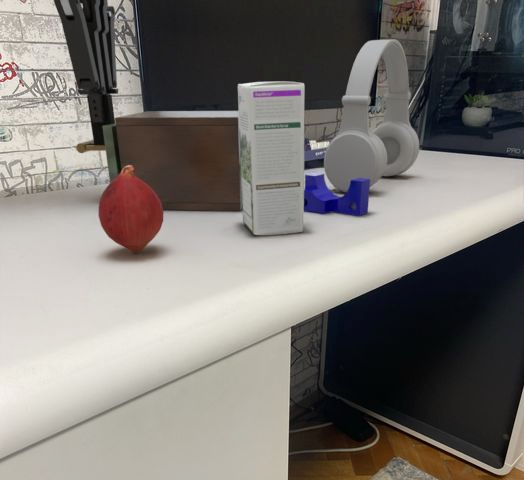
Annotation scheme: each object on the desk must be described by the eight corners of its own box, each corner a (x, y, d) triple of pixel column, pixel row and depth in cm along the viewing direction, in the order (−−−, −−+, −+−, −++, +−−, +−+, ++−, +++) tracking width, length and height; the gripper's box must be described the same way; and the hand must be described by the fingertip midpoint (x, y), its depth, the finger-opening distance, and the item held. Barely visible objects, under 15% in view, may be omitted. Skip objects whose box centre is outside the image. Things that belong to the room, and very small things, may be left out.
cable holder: (297, 209, 67) (298, 176, 65) (313, 204, 70) (314, 172, 68) (353, 218, 63) (355, 183, 61) (367, 212, 65) (370, 178, 63)
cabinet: (126, 209, 68) (114, 117, 63) (154, 190, 80) (147, 111, 75) (240, 211, 67) (237, 117, 62) (253, 191, 78) (251, 110, 73)
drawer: (76, 200, 69) (64, 125, 65) (109, 184, 79) (100, 119, 75) (216, 202, 67) (212, 125, 63) (231, 185, 77) (228, 118, 73)
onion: (110, 264, 48) (96, 172, 44) (100, 248, 53) (87, 163, 49) (173, 256, 50) (165, 167, 46) (158, 241, 55) (150, 159, 51)
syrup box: (305, 232, 57) (309, 81, 50) (251, 236, 56) (248, 82, 49) (289, 220, 62) (291, 80, 55) (240, 224, 61) (235, 81, 54)
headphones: (369, 172, 92) (379, 44, 84) (417, 175, 88) (433, 41, 80) (320, 192, 77) (325, 37, 68) (375, 197, 73) (389, 34, 64)
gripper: (84, -90, 54) (116, 155, 65) (127, -61, 66) (148, 143, 77) (15, -86, 55) (58, 155, 66) (69, -58, 67) (98, 143, 77)
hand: (106, 148), depth 71 cm, fingers closed
